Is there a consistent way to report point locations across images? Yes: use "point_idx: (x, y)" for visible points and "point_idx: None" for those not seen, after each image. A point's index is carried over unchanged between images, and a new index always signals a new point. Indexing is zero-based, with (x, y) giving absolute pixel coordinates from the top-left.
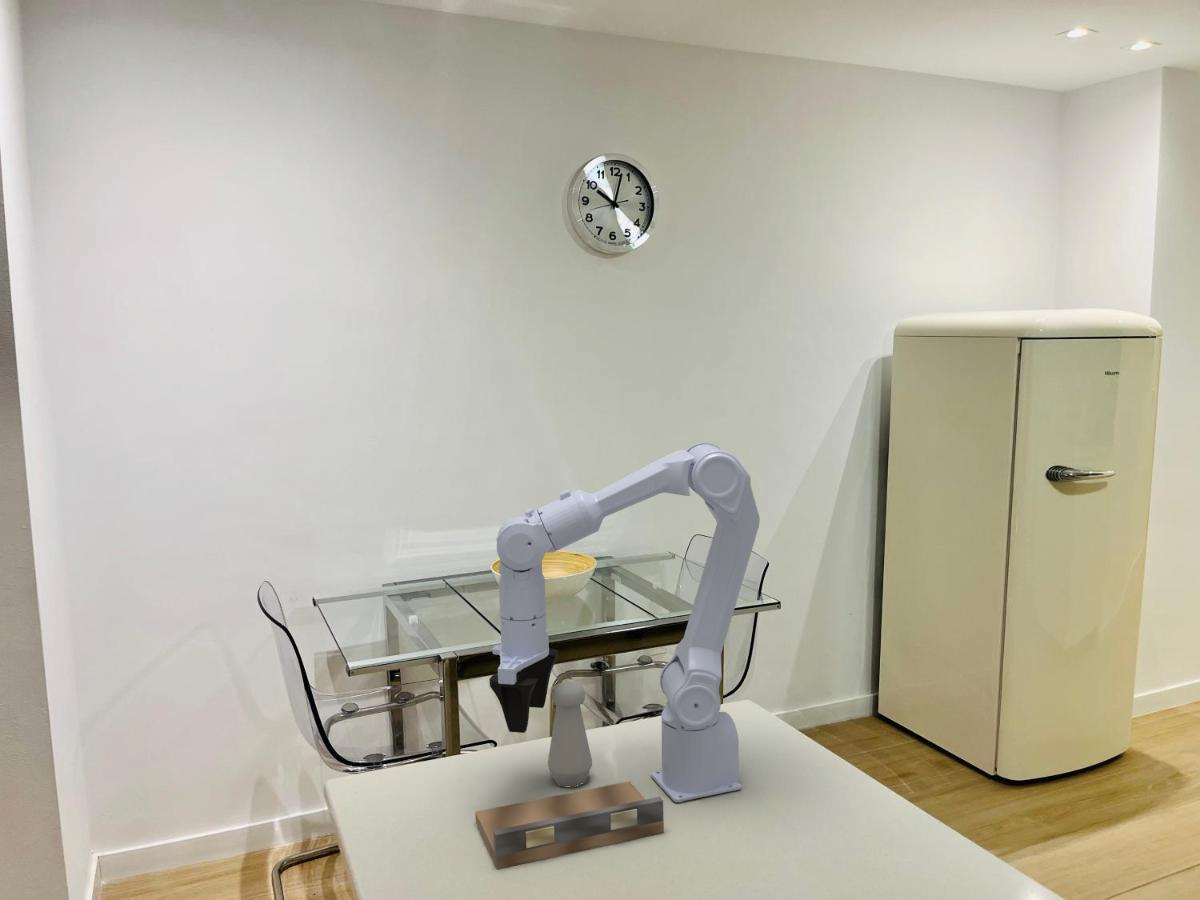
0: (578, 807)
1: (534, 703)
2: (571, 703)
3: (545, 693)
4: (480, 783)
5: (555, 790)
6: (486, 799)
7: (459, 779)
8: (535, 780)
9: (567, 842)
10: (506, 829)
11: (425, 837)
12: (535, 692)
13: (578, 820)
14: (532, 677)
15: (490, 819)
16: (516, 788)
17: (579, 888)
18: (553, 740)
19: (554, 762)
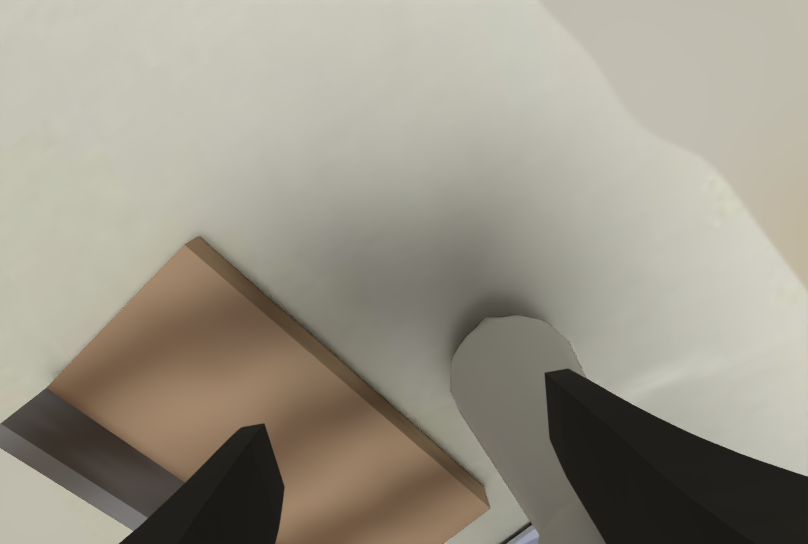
0: (328, 462)
1: (554, 418)
2: None
3: (588, 513)
4: (403, 126)
5: (438, 340)
6: (324, 195)
7: (403, 42)
8: (472, 269)
9: None
10: (27, 449)
11: (64, 142)
12: (586, 465)
13: None
14: (649, 531)
15: (170, 304)
16: (413, 243)
17: (102, 538)
18: (501, 394)
19: (464, 369)
